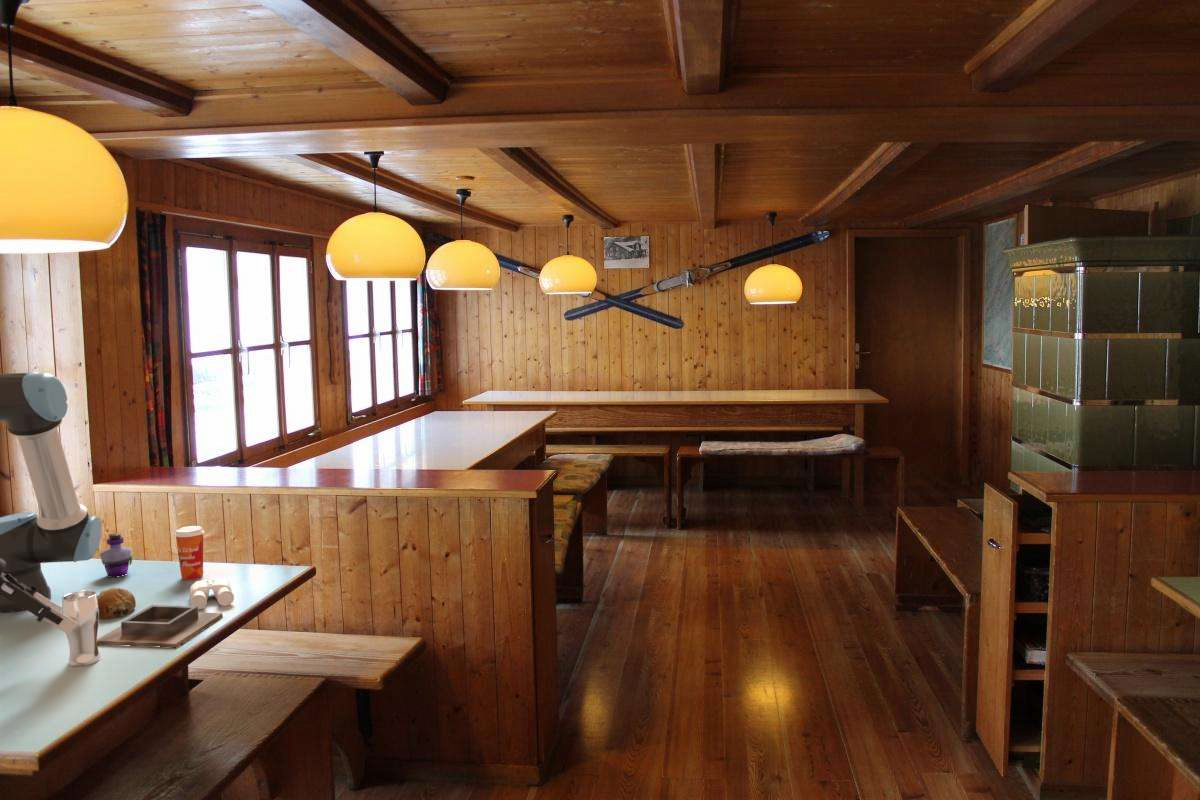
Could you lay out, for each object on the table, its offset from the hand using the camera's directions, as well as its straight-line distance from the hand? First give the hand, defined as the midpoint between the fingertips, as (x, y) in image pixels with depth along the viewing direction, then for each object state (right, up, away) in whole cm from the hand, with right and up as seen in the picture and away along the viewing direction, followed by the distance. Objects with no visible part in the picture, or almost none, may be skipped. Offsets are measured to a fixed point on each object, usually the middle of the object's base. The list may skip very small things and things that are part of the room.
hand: (65, 620), depth 199 cm
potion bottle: (-23, -3, +66) cm, 70 cm away
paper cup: (0, -3, +63) cm, 64 cm away
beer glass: (+2, -10, +4) cm, 11 cm away
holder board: (+10, -8, +22) cm, 25 cm away
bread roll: (-8, -7, +35) cm, 36 cm away
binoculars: (+13, -5, +45) cm, 47 cm away
